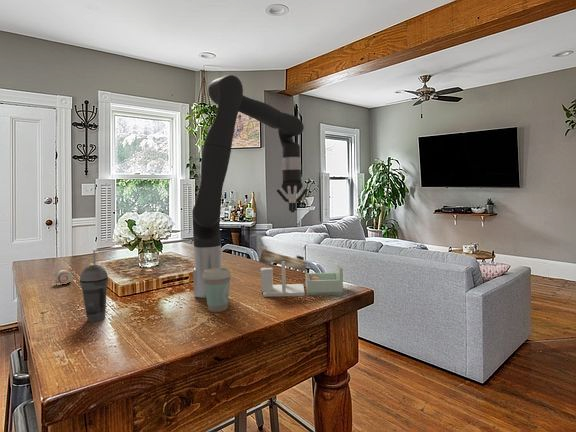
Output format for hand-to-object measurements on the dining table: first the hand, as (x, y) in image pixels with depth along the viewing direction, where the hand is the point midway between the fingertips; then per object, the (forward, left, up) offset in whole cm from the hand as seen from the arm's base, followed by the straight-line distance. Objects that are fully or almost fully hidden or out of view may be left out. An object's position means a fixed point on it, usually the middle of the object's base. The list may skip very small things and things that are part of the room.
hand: (292, 212), depth 147 cm
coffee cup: (-24, -38, -27) cm, 53 cm away
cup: (+10, -20, -27) cm, 35 cm away
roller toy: (-94, -1, -27) cm, 98 cm away
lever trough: (-5, -17, -18) cm, 25 cm away
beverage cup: (-58, -45, -27) cm, 78 cm away
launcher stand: (-4, -20, -27) cm, 34 cm away
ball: (+7, -20, -24) cm, 32 cm away
